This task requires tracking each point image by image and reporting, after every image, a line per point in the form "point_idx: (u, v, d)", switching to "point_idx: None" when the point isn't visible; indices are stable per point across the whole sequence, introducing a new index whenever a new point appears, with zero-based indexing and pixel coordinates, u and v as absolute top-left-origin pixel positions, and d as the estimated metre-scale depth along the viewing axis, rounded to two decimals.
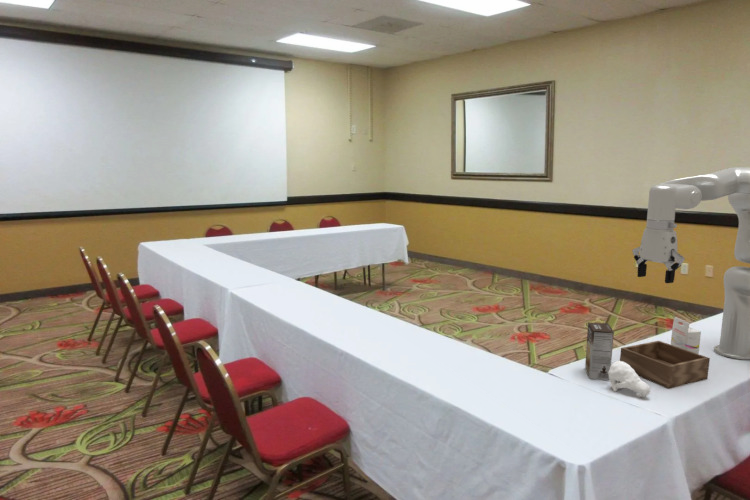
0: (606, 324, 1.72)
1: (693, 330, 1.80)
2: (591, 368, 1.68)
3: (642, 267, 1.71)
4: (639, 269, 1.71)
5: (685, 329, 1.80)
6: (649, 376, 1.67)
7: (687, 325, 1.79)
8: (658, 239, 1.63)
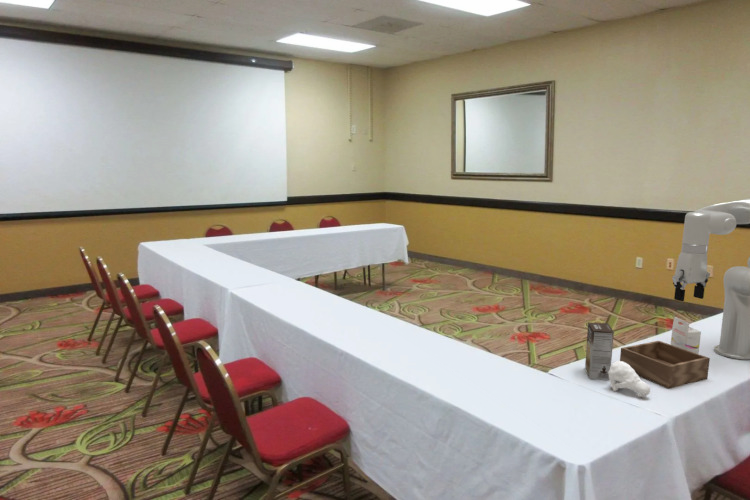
0: (606, 324, 1.72)
1: (693, 330, 1.80)
2: (591, 368, 1.68)
3: None
4: (684, 294, 1.78)
5: (685, 329, 1.80)
6: (649, 376, 1.67)
7: (687, 325, 1.79)
8: (703, 261, 1.78)
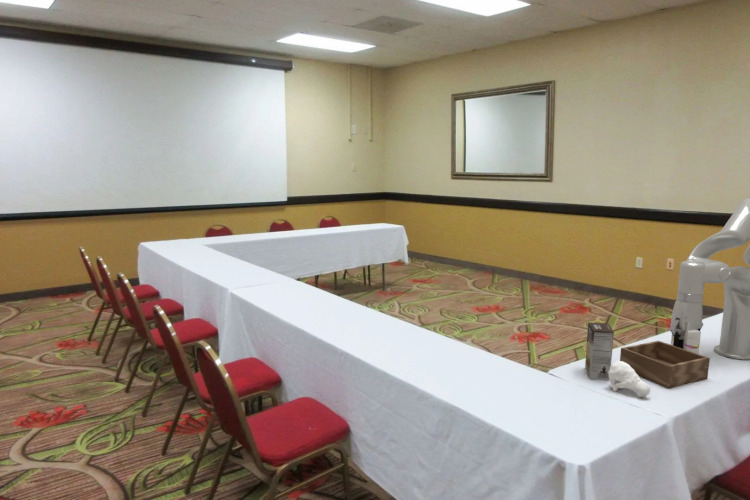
0: (606, 324, 1.72)
1: (693, 330, 1.80)
2: (591, 368, 1.68)
3: None
4: (682, 343, 1.81)
5: None
6: (649, 376, 1.67)
7: (687, 325, 1.79)
8: (698, 310, 1.80)
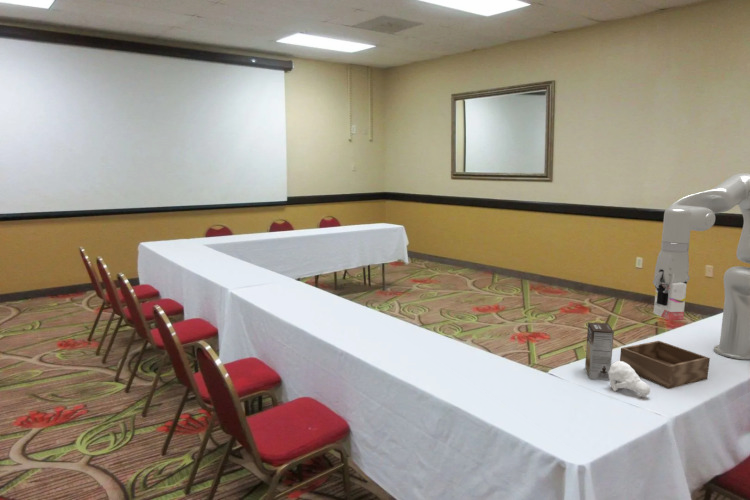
0: (606, 324, 1.72)
1: (678, 282, 1.66)
2: (591, 368, 1.68)
3: None
4: (667, 297, 1.67)
5: None
6: (649, 376, 1.67)
7: (672, 277, 1.65)
8: (684, 260, 1.66)
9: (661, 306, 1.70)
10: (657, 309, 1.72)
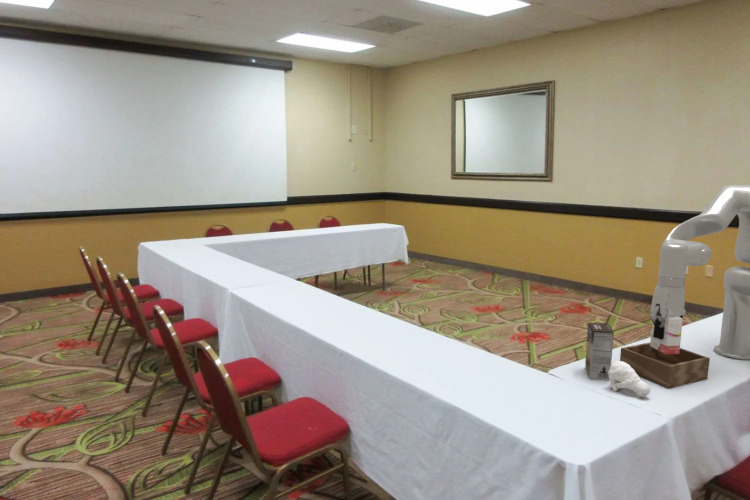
0: (606, 324, 1.72)
1: (675, 317, 1.68)
2: (591, 368, 1.68)
3: None
4: (663, 331, 1.68)
5: None
6: (649, 376, 1.67)
7: (668, 311, 1.66)
8: (680, 295, 1.68)
9: (657, 339, 1.72)
10: (654, 342, 1.73)
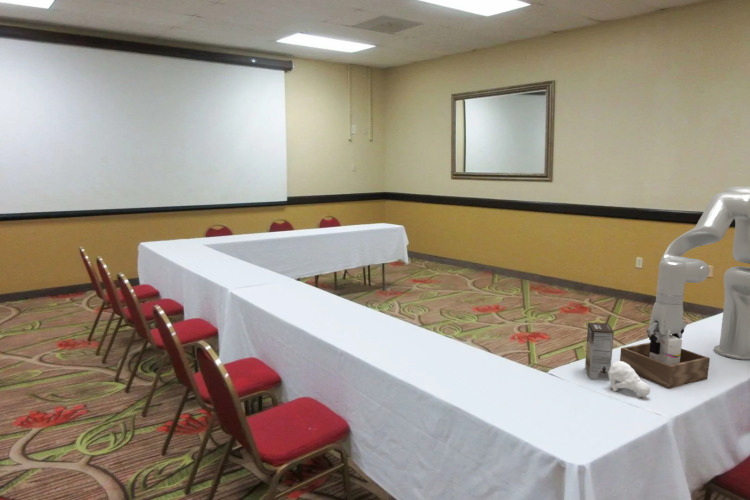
0: (606, 324, 1.72)
1: (674, 338, 1.69)
2: (591, 368, 1.68)
3: None
4: (659, 347, 1.69)
5: (666, 337, 1.68)
6: (649, 376, 1.67)
7: (668, 333, 1.68)
8: (679, 312, 1.69)
9: (657, 360, 1.73)
10: None
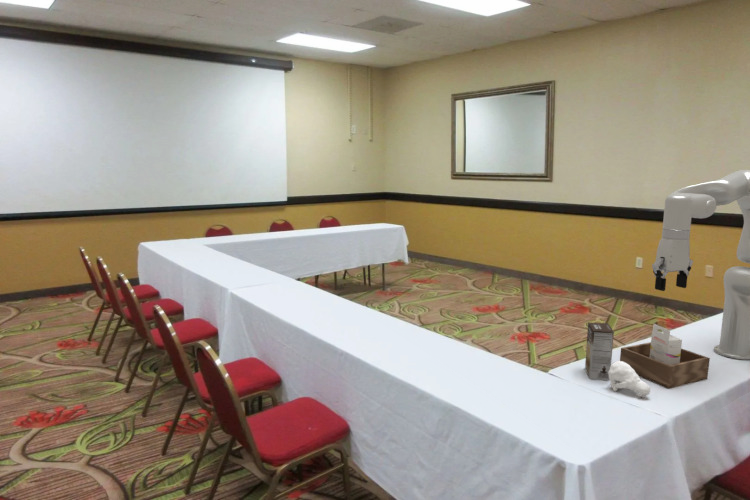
0: (606, 324, 1.72)
1: (674, 338, 1.69)
2: (591, 368, 1.68)
3: None
4: None
5: (666, 337, 1.68)
6: (649, 376, 1.67)
7: (668, 333, 1.68)
8: (685, 248, 1.65)
9: (657, 360, 1.73)
10: None
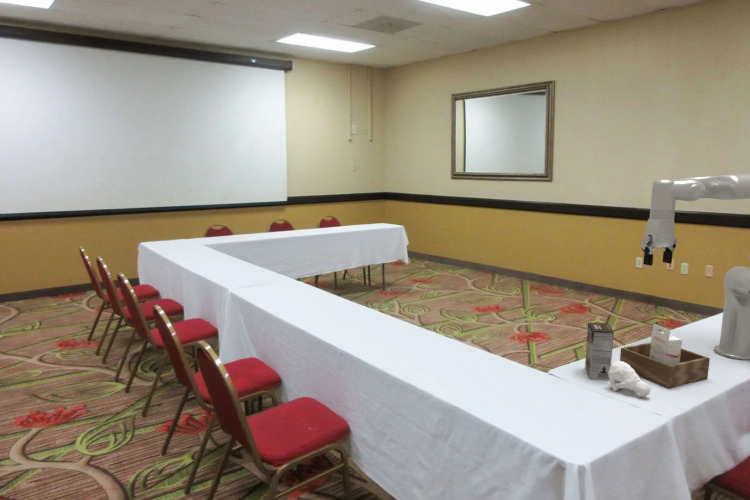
0: (606, 324, 1.72)
1: (674, 338, 1.69)
2: (591, 368, 1.68)
3: None
4: (652, 258, 1.85)
5: (666, 337, 1.68)
6: (649, 376, 1.67)
7: (668, 333, 1.68)
8: (670, 227, 1.85)
9: (657, 360, 1.73)
10: None
